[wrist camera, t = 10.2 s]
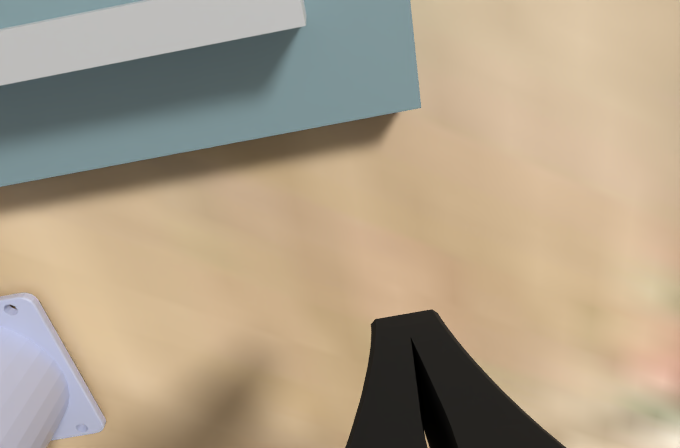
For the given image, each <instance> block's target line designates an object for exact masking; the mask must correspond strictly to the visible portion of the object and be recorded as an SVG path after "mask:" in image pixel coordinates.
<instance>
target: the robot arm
mask: <svg viewBox="0 0 680 448" xmlns="http://www.w3.org/2000/svg"><path fill="white" fill-rule="evenodd" d="M10 305H13V306H15V307H16V308H17V309H14V308H12V307H11V306H10ZM105 424H106V419H105V417H104V415H103V414H102V412H101V410H100V408H99V406H98V405H97V403H96V401H95V399H94V398H93V396H92V394H91V392H90V391H89V389H88V387H87V385H86V383H85V382H84V380H83V378H82V376H81V375H80V373H79V371H78V369H77V368H76V366H75V364H74V362H73V360H72V359H71V357H70V355H69V353H68V352H67V350H66V348H65V346H64V344H63V343H62V341H61V339H60V337H59V336H58V334H57V332H56V330H55V329H54V327H53V325H52V323H51V321H50V320H49V318H48V316H47V314H46V313H45V311H44V309H43V307H42V305H41V304H40V302H39V300H38V299H37V298H36V297H35V296H33V295H32V294H29V293H17V294H11V295H6V296H0V448H47V446H48V444H49V442H50V441H51V440H57V439H63V438H69V437H75V436H81V435H87V434H93V433H98V432H101V431H102V430H103V428H104V426H105ZM424 431H425V434H426V437H427V440H428V443H429V446H430V448H566V447H565V446H563V445H562V444H561V443H560V442H559V441H557V440H556V439H555V438H554V437H553V436H551V435H550V434H549V433H548V432H547V431H545V430H544V429H543V428H542V427H541V426H540V425H539V424H537V423H536V422H535V421H534V420H533V419H532V418H531V417H530V416H529V415H527V414H526V413H525V412H524V411H523V410H522V409H521V408H520V407H519V406H518V405H517V404H516V403H515V402H514V401H513V400H512V399H511V398H510V397H508V396H507V395H506V394H505V393H504V392H503V391H502V390H501V389H500V388H499V387H498V386H497V385H496V384H495V382H494V381H493V380H492V379H491V378H490V377H489V376H488V375H487V374H486V373H485V372H484V371H483V370H482V368H481V367H480V366H479V365H478V364H477V363H476V362H475V361H474V360H473V359H472V357H471V356H470V355H469V354H468V353H467V352H466V350H465V349H464V348H463V347H462V346H461V344H460V343H459V342H458V341H457V339H456V338H455V337H454V336H453V334H452V333H451V332H450V330H449V329H448V328H447V326H446V325H445V324H444V322H443V321H442V319H441V318H440V316H439V314H438V313H437V312H435V311H434V310H426V311H420V312H415V313H409V314H403V315H397V316H391V317H386V318H380V319H375V320H374V322H373V323H372V324H371V348H370V355H369V362H368V368H367V372H366V377H365V381H364V386H363V391H362V395H361V399H360V403H359V406H358V409H357V413H356V416H355V419H354V423H353V426H352V429H351V433H350V436H349V439H348V442H347V445H346V447H345V448H427V444H426V440H425V434H424Z"/></svg>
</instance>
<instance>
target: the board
mask: <svg viewBox="0 0 680 448" xmlns="http://www.w3.org/2000/svg"><path fill="white" fill-rule="evenodd" d="M417 108H421V102H420V92H419V82H418V73H417V63H416V53H415V43H414V34H413V24H412V14H411V4H410V0H0V187H2V186H7V185H12V184H18V183H23V182H28V181H34V180H39V179H44V178H50V177H55V176H60V175H66V174H71V173H76V172H82V171H87V170H92V169H98V168H103V167H108V166H114V165H119V164H124V163H130V162H135V161H140V160H146V159H151V158H156V157H162V156H167V155H172V154H178V153H183V152H188V151H194V150H199V149H204V148H210V147H215V146H220V145H226V144H231V143H236V142H242V141H247V140H252V139H258V138H263V137H268V136H273V135H279V134H284V133H289V132H295V131H300V130H305V129H311V128H316V127H321V126H327V125H332V124H337V123H343V122H348V121H353V120H359V119H364V118H369V117H375V116H380V115H385V114H391V113H396V112H401V111H407V110H412V109H417Z"/></svg>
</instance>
